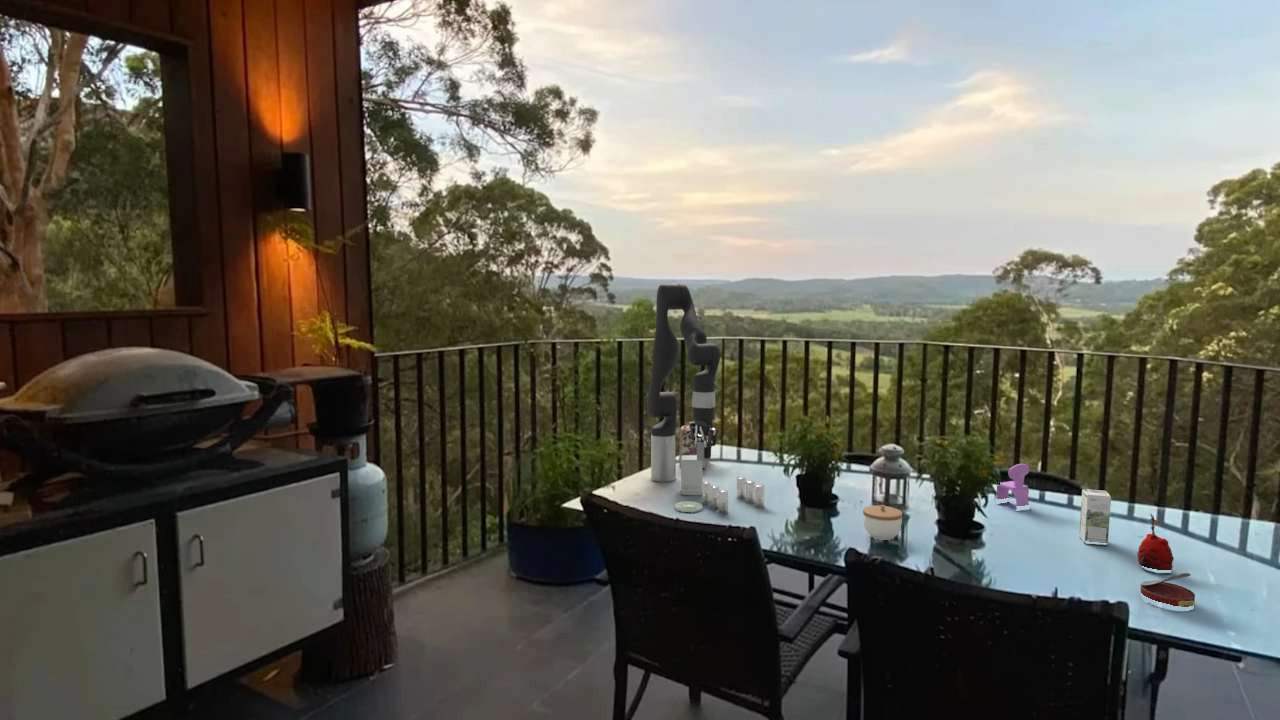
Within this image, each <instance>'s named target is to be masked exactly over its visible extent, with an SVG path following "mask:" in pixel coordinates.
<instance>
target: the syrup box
mask: <svg viewBox="0 0 1280 720" xmlns="http://www.w3.org/2000/svg"><path fill="white" fill-rule="evenodd" d="M1080 504H1081V505H1080V521H1079V534H1080V536H1081V537H1082V538H1083V539H1084V541H1089V542H1099V543H1108V544H1109V533H1110V532H1109V531H1110V518H1111V505H1112V497H1111V495H1110V494H1109V493H1108V492H1107V491H1106V490H1098V489H1097V490H1096V489H1087V488H1086V489H1085V488H1082V491H1081V503H1080ZM1079 534H1078V535H1079Z"/></svg>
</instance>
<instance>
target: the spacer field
mask: <svg viewBox="0 0 1280 720" xmlns="http://www.w3.org/2000/svg"><path fill="white" fill-rule="evenodd" d="M746 479H747V477H745V476H737V477H736V499H739V500H745V503H746V504H754V507H755V508H758V509H762V508H764V507H765V485H764V484H756V481H755V480H746ZM700 496H701V497H700V498H701V501H700V502H701V503H700V504H702V505H705V504H707V505H709V509H712V510H718V514H722V515H727V514H728V513H729V490H728V489H727V490H726V489H720V486H718V485H711V482H710V481H702V483H701V495H700Z"/></svg>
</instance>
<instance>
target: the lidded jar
mask: <svg viewBox="0 0 1280 720" xmlns="http://www.w3.org/2000/svg"><path fill="white" fill-rule="evenodd" d="M862 514H863V517H862V518H863V526H864V528H865V530H866V532H867V534H868V535H869V536H870V537H871V538H872V537H873V538H876V539H879V540H878V541H881V540H889V541H891V540H890V539H892V538H893V539H894V538H895V537H896V536H897V535H898V534H899V533H900V531H901V528H902V522H903V514H904V513H903V512H902V511H901V510H900V509H898V508H895V507H893V506H887V505H885V504H881V505H869V506H865V507H863V510H862ZM873 538H872V539H873ZM876 539H875V540H876ZM893 539H892V540H893Z"/></svg>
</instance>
